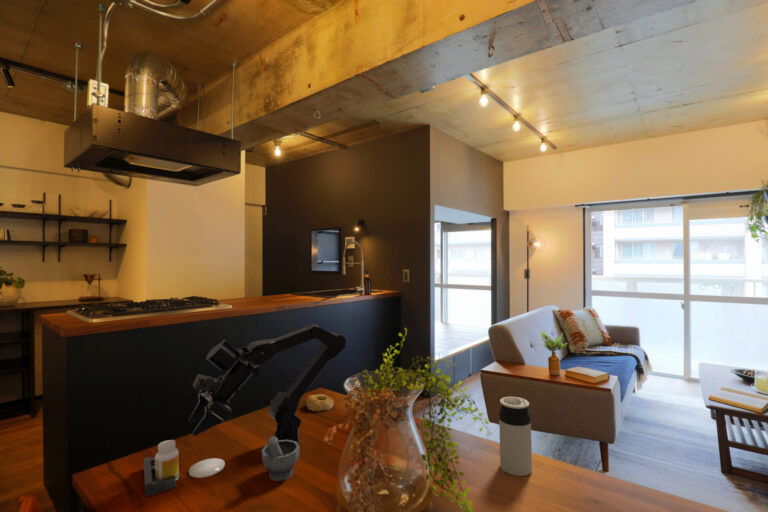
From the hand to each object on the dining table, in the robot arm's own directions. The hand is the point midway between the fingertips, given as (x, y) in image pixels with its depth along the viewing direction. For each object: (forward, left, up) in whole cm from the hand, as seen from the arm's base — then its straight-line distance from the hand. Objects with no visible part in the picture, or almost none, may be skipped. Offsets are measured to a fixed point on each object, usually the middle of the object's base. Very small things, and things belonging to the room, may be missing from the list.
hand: (191, 428), depth 102 cm
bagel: (-35, -38, -12) cm, 53 cm away
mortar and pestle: (-24, +7, -12) cm, 27 cm away
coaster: (-3, -1, -12) cm, 13 cm away
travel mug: (-86, +18, -12) cm, 88 cm away
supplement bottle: (+5, +2, -12) cm, 14 cm away
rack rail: (+8, +1, -12) cm, 14 cm away
